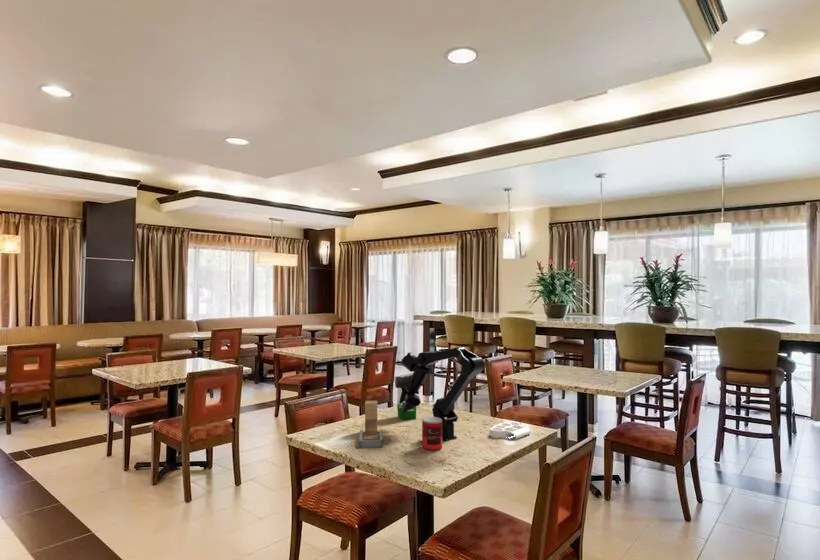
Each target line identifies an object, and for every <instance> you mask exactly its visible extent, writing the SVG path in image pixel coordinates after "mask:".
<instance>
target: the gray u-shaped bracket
mask: <svg viewBox="0 0 820 560" xmlns="http://www.w3.org/2000/svg"><path fill="white" fill-rule="evenodd" d="M363 435H364V430H363V429H360V430H359V439H358V440H359V441H358V448H360V447H361V448H384V447H383V446H384V444H383V442H384V440H383V429H379V438H378V437H375V438H374V437H373V438H367V437H366V438H365V437H363Z"/></svg>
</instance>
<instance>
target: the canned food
mask: <svg viewBox="0 0 820 560" xmlns="http://www.w3.org/2000/svg"><path fill="white" fill-rule="evenodd" d="M421 420H422V421H421V440H422V441H421V443H422V444H421V445H422V449H423V450H425V451H430V452H437V451H441V450H442V448H443V440H442V419H441V418H438V417H434V416H426V417H423V418H422V419H421Z"/></svg>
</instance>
